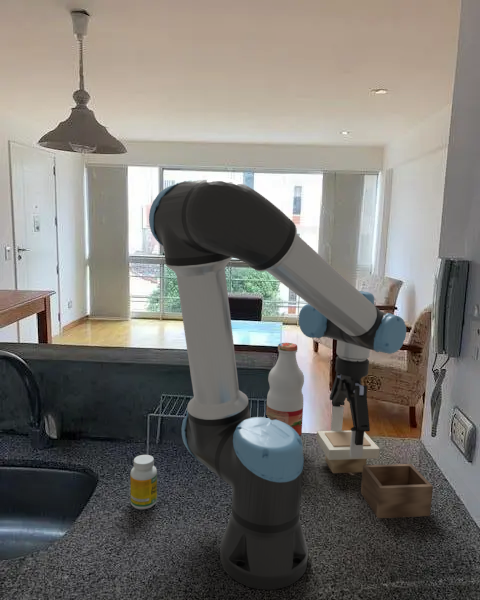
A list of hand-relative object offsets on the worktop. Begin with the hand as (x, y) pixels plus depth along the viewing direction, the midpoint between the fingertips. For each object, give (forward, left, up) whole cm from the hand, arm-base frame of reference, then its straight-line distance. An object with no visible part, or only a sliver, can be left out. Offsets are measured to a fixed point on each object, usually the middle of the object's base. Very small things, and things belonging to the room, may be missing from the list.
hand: (345, 443), depth 111 cm
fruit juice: (-13, +11, -7) cm, 18 cm away
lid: (0, 0, -2) cm, 2 cm away
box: (+5, -16, -7) cm, 18 cm away
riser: (0, 0, -7) cm, 7 cm away
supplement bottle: (-47, -11, -7) cm, 48 cm away
